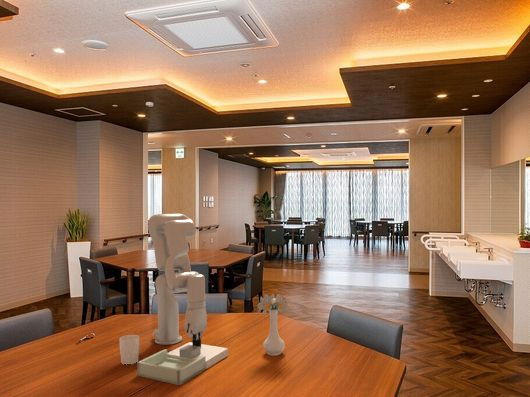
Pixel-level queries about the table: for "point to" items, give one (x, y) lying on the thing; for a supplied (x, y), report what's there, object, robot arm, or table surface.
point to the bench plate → (202, 354)
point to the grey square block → (190, 351)
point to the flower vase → (273, 322)
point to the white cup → (129, 349)
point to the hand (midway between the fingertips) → (196, 348)
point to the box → (169, 368)
